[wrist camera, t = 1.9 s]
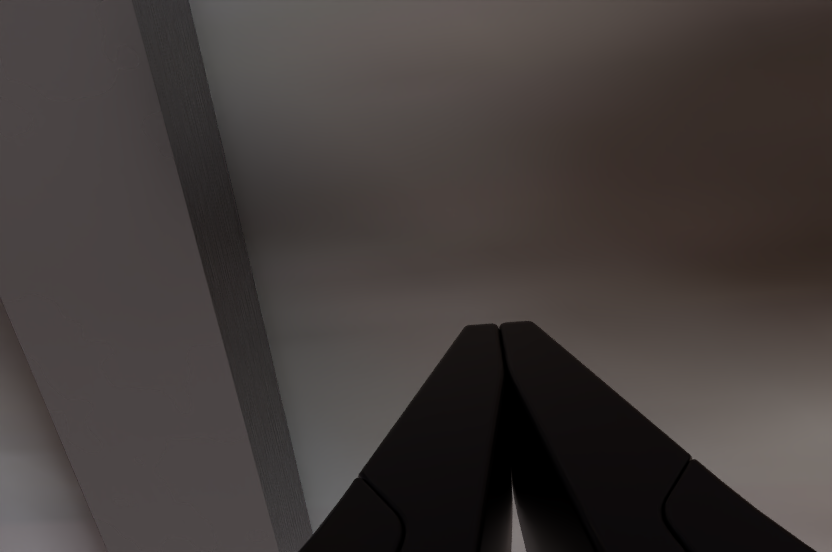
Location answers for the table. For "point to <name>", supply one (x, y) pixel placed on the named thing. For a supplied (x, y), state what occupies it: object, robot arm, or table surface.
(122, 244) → the link
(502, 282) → the table surface
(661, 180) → the table surface
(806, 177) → the table surface
